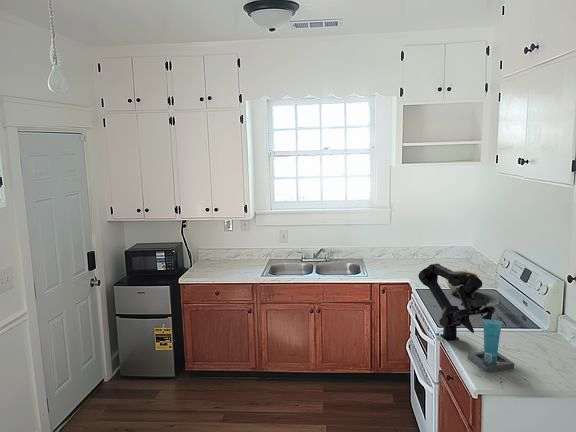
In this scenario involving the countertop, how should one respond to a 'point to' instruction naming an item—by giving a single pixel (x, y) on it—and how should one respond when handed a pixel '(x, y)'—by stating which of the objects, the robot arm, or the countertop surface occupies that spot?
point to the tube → (491, 340)
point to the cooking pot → (462, 285)
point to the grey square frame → (503, 365)
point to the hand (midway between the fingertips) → (482, 331)
